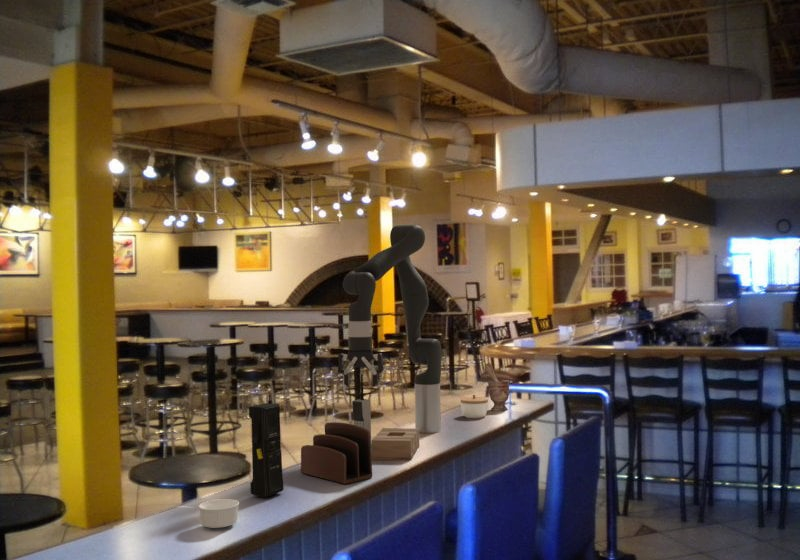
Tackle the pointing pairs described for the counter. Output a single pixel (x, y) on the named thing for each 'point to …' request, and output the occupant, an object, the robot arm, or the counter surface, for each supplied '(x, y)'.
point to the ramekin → (219, 513)
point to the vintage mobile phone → (362, 411)
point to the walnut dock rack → (395, 444)
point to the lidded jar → (474, 407)
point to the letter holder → (339, 454)
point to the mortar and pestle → (497, 390)
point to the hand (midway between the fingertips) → (361, 386)
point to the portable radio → (266, 449)
